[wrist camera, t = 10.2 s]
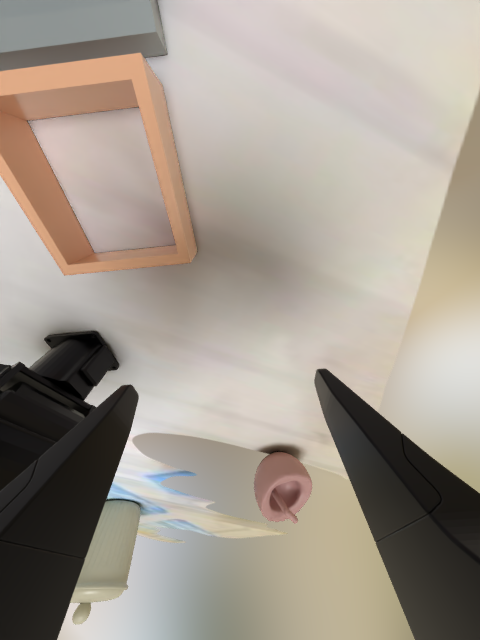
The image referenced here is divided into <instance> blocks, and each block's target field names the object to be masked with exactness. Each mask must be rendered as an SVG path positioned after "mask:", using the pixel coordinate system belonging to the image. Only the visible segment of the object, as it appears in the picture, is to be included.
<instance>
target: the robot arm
mask: <svg viewBox="0 0 480 640" xmlns="http://www.w3.org/2000/svg"><path fill="white" fill-rule="evenodd" d="M44 340H45V341H46V343H47V344H48V345H49V346H50V347H51V348H52V349H51V350H49V351H48V352H47V353H46V354H45V355H44V356H42V357H41V358H40V359H39V360H38V361H37V362H35V363H34V364H33V365H32V366H31V367H30V368H27V367H25V365H24V364H23V363H21V362H18V363H16V364H15V365H13V366H10V365H3V364H0V640H57V638H58V635H59V632H60V630H61V626H62V624H63V621H64V618H65V615H66V613H67V609H68V607H69V604H70V601H71V598H72V596H73V593H74V590H75V587H76V584H77V581H78V579H79V576H80V573H81V570H82V567H83V565H84V562H85V558H86V556H87V553H88V550H89V547H90V544H91V541H92V539H93V536H94V533H95V530H96V527H97V524H98V522H99V519H100V516H101V513H102V510H103V507H104V505H105V502H106V499H107V496H108V493H109V490H110V488H111V485H112V482H113V479H114V476H115V473H116V471H117V468H118V465H119V462H120V459H121V456H122V454H123V451H124V448H125V445H126V442H127V440H128V437H129V434H130V431H131V427H132V423H133V419H134V415H135V411H136V407H137V403H138V398H139V397H138V393H137V392H136V390H135V389H134V387H133V386H132V385H123V386H121V387H120V388H118V389H117V390H116V391H115V392H114V393H113V394H112V395H110V396H109V397H108V398H107V399H106V400H105V401H104V402H102V403H101V404H100V405H99V406H98V407H97V408H96V407H95V406H93V405H90V404H88V403H86V402H85V401H83V400H85V398H86V397H87V396H88V394H89V393H90V392H91V390H92V389H93V387H94V386H97V385H98V383H99V382H100V381H101V379H102V378H103V376H104V375H105V374H106V372H107V371H111V370H117V369H118V368H119V364H118V363H117V361H116V360H115V358H114V357H113V355H112V354H111V352H110V351H109V349H108V347H107V346H106V344H105V343H104V341H103V340H102V338H101V337H100V335H99V334H98V333H97V332H95V331H91V332H80V333H69V334H58V335H48V336H47V337H45V338H44ZM314 382H315V387H316V390H317V394H318V397H319V401H320V404H321V408H322V411H323V414H324V417H325V420H326V423H327V425H328V427H329V430H330V432H331V435H332V437H333V440H334V442H335V445H336V447H337V449H338V452H339V454H340V457H341V459H342V462H343V464H344V467H345V469H346V471H347V474H348V476H349V479H350V481H351V484H352V486H353V489H354V491H355V494H356V496H357V498H358V501H359V503H360V505H361V508H362V511H363V513H364V516H365V518H366V520H367V523H368V525H369V528H370V530H371V533H372V535H373V537H374V540H375V542H376V545H377V548H378V550H379V553H380V555H381V557H382V560H383V562H384V565H385V567H386V569H387V572H388V575H389V577H390V580H391V582H392V584H393V587H394V589H395V591H396V594H397V597H398V599H399V601H400V604H401V606H402V609H403V611H404V614H405V616H406V618H407V621H408V624H409V626H410V629H411V631H412V633H413V636H414V638H415V640H480V493H478V492H477V491H476V490H474V489H473V488H471V487H470V486H469V485H468V484H466V483H465V482H464V481H462V480H461V479H459V478H458V477H457V476H456V475H454V474H453V473H452V472H450V471H449V470H448V469H446V468H445V467H444V466H442V465H441V464H440V463H438V462H437V461H436V460H435V459H433V458H432V457H431V456H429V455H428V454H427V453H426V452H424V451H423V450H422V449H421V448H420V447H418V446H417V445H416V444H415V443H414V442H412V441H411V440H410V439H409V438H407V437H406V436H405V435H404V434H401V432H400V431H399V430H398V429H397V428H396V427H394V426H393V425H392V424H391V423H390V422H389V421H387V420H386V419H385V418H384V417H383V416H381V415H380V414H379V413H378V412H377V411H376V410H374V409H373V408H372V407H371V406H370V405H368V404H367V403H366V402H365V401H364V400H363V399H361V398H360V397H359V396H358V395H357V394H355V393H354V392H353V391H352V390H351V389H350V388H348V387H347V386H346V385H345V384H344V383H342V382H341V381H340V380H339V379H338V378H337V377H335V376H334V375H333V374H332V373H331V372H329V371H328V370H327V369H317V371H316V375H315V380H314Z"/></svg>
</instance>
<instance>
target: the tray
mask: <svg viewBox="0 0 480 640" xmlns="http://www.w3.org/2000/svg"><path fill="white" fill-rule="evenodd" d="M134 53H141V54H142V55H143V57H144V58H145V57H153V56H160V55H167V49H166V44H165V39H164V34H163V28H162V23H161V18H160V12H159V7H158V2H157V0H0V71H5V70H13V69H20V68H28V67H35V66H43V65H51V64H58V63H66V62H73V61H81V60H89V59H96V58H104V57H111V56H119V55H126V54H134Z"/></svg>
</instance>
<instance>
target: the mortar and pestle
mask: <svg viewBox="0 0 480 640" xmlns="http://www.w3.org/2000/svg"><path fill="white" fill-rule="evenodd" d="M254 490H255V497H256V500H257V503H258V506H259V508H260V510H261V512H262V514H263V516H264V517H266V518H267V519H268V520H269V521H275V522H279V521H284V520H285V519H290V520H291V521H293V523H297V521H298V519H297V517H296V516H295V514H296V513H297V512H299V511H300V509H301V508H302V507H303V505H304V504H305V503H306V502H307V500H308V498H309V496H310V494H311V490H312V481H311V478H310V476H309V474H308V472H307V470H306V469H305V467H304V466H303V464H302V463H301V462H300V461H299V460H298V459H297V458H295V457H294V456H292V455H290V454H288V453H284V452H275V453H272V454H270V455H268V456H267V457H265V458H264V459H263V460H262V461H261V463H260V465H259V466H258V468H257V471H256V474H255V481H254Z"/></svg>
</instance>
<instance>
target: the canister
mask: <svg viewBox="0 0 480 640" xmlns="http://www.w3.org/2000/svg"><path fill="white" fill-rule="evenodd" d="M139 520H140V507H139V505H138V504H136V503H134V502H131V501H126V500H111V501H106V502H105V505H104V507H103V510H102V513H101V516H100V519H99V522H98V524H97V527H96V530H95V533H94V536H93V539H92V541H91V544H90V547H89V550H88V553H87V556H86V558H85V562H84V565H83V567H82V570H81V573H80V576H79V579H78V581H77V584H76V587H75V590H74V593H73V596H72V598H71V601H70V603H81V604H80V605H79V606H78V607H77V609H76V610H75V612H74V614H73V618H72V620H73V623H74V624H82V623H83V622H84V621H86V619H87V618H88V616H89V614H90V610H91V604H90V603H91V602H100V601H107V600H112V599H115V598H117V597H119V596H120V595H121V594H122V592H123V591H124V590H127V588H128V585H127V584H126V583H127V578H128V574H129V569H130V564H131V560H132V555H133V549H134V545H135V540H136V535H137V530H138V525H139Z"/></svg>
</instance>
